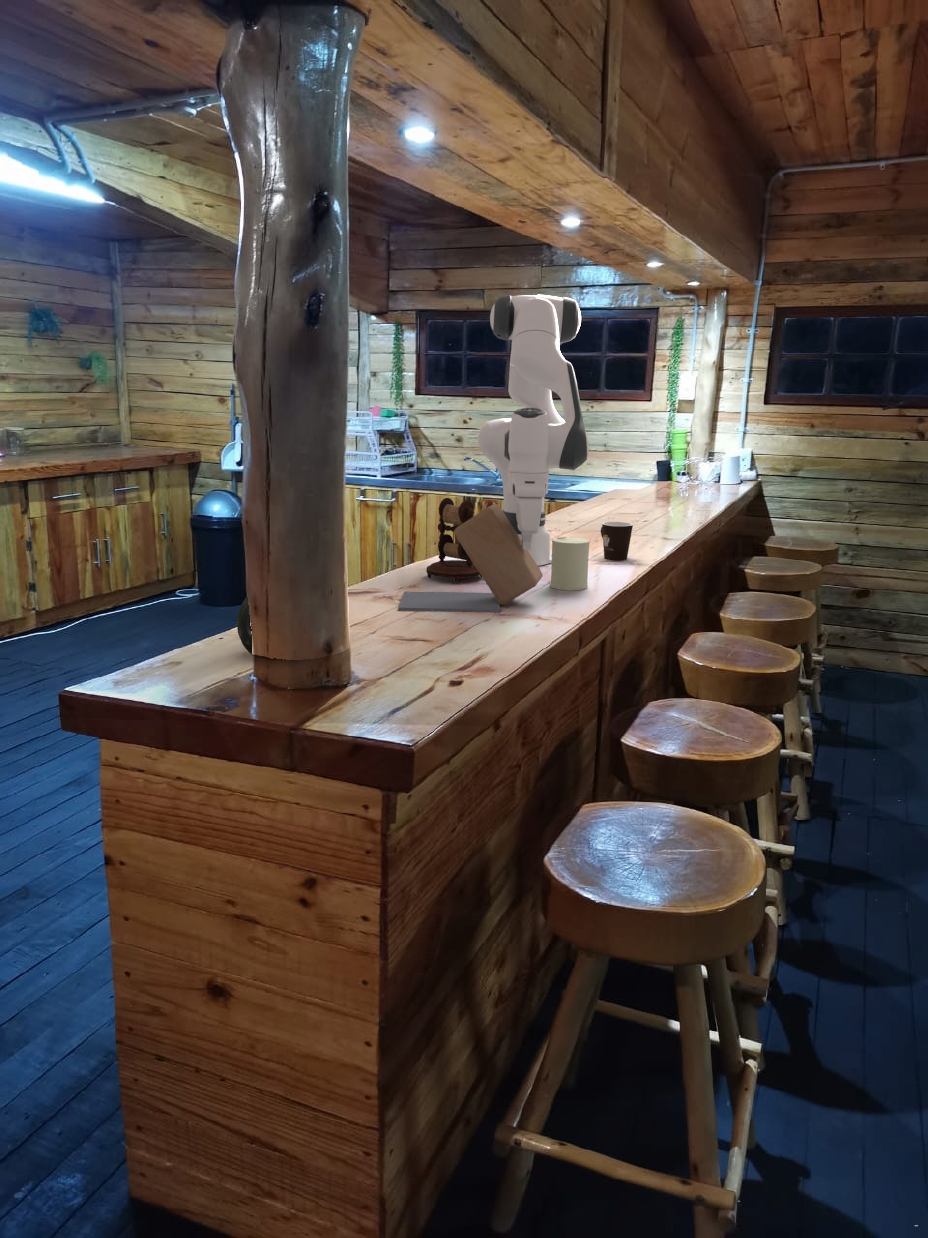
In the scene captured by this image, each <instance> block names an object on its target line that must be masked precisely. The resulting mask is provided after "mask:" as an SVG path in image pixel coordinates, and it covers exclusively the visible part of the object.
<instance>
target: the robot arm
mask: <svg viewBox="0 0 928 1238" xmlns="http://www.w3.org/2000/svg"><path fill="white" fill-rule="evenodd" d="M489 321H490V323H489V324H490V327H491V330H492V333H493V335H494V336H495V337H496V338H498V339H499V340H503V341H510V340H511V349H510V350H511V351H510V359H509V373H508V375H509V376H508V394H509V397H510V398H511V399H512V400H513V402H515V403H517V404H519V405H520V406H521V407H524V408H519V409H516V410H514V411H513V412H512V414H511V417H510V418H509V417H507V418H505V417H504V418H503V417H501V418H496V419H491V420H487V421H485V422H484V423H483V424H482V426H481V427H480V429H479V432H478V435H477V436H478V437H477V441H478V442H477V443H478V446H479V449H480V451H481V453H482V454H483V456H485V458H487V459H488V460H489V461H490V462H491V463H492V464H493V465H494V466H495V468H496V469H497V471H498V473H499V475H500V477H501V482H502V490H503V509H502V511H503V513H504V514H505V516H506V517H507V519H508V520H509V522H510V523H511V525H512V527H513V528H514V530H515V531H516V533H517V534H518V536H519V538H520V539H521V541H522V547H523V549H524V550H528V552H529V553H530V555H531V556H532V558H533V559H534V561H535V563H536V564H537V566H538V567H539V566H544V565H547V564H552V554H551V533H550V531H549V530H548V529H547V528H546V527H545V525H546V519H547V518H546V517H547V516H546V511H545V498H546V495H547V494H549V475H550V474H549V473H550V472H549V471H550V468H551V469H562V470H568V471H574V470H576V469H578V468H579V467H581V466H583V464H584V463H585V462H586V461H587V460H588V456H589V452H590V451H589V450H590V443H589V437H588V434H587V431H586V427H585V424H584V419H583V418H584V417H583V411H582V407H581V400H580V395H579V388H578V382H577V378H576V373H575V369H574V367H573V364H572V363H571V362H570V361H568V360H566V359H565V357H564V356H563V355H562V353H561V350H560V349H561V348H560V346H562V344H564V343H567V342H570V341H572V340H573V339H575V338H576V336H577V334H578V332H579V330H580V327H581V323H582V315H581V310H580V306H579V304H578V302H577V300H575V299H573V298H570V297H567V296H563V297H560V296H553V295H545V294H537V295H535V294H533V295H530V294H529V295H527V294H526V295H513V296H512V295H510V294H507V295H502V296H499V297H498V298H497V299H495V301H494V303H493V306H492V307H491V310H490V316H489ZM552 392H554V393H556V395H558V397H559V398H560V401H561V406H562V412H563V417H561V415H560V414H559V413H558V411H557V410H556V407H555V405H554V401H553V397H552V396H553V395H552Z"/></svg>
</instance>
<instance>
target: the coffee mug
mask: <svg viewBox="0 0 928 1238" xmlns="http://www.w3.org/2000/svg"><path fill="white" fill-rule="evenodd" d="M601 525H602V526H601V528H600V535H601V538H602V544H603V558H604V560H607V561H612V562H613V561H614V562H624V561H627V560H628V555H629V549H630V544H631V538H632V532H633V527H634V524H633V523H631V522H625V521H604V522H602V523H601Z"/></svg>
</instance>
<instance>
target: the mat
mask: <svg viewBox="0 0 928 1238" xmlns="http://www.w3.org/2000/svg"><path fill="white" fill-rule="evenodd" d="M500 605H501V604H500V603H499V602H498V601H497V599H496V598H495V596H494V595H493V593H492V592H476V591H475V592H472V591H471V592H470V591H468V592H465V591H461V592H460V591H459V592H457V591H410V590H407V591H405V590H404V591H403V594H402V596H401V599H400V602H399V605H398V608H397V611H399V612H400V611H402V612H405V611H406V612H408V611H409V612H411V611H412V612H458V613H459V612H460V613H461V612H462V613H463V612H465V613H470V612H472V613H501V606H500Z"/></svg>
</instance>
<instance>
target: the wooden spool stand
mask: <svg viewBox="0 0 928 1238" xmlns="http://www.w3.org/2000/svg"><path fill="white" fill-rule="evenodd" d="M474 507H475V506H474V504H473V503H472V502H471V500H463V501H462V502H461V503H460V505H455V503H454V501H453V500H452V499H451V498H450V497H445V498H443V499H442V500H441V501H440V502H439V506H438V515H439V518H438V519H439V523H438V525H437V530H438V532H439V536H438V539H439V540H438V544H437V548H438V549H437V550H438V552H439V553H438V559H439V560H438V561H435V562H432V563H431V564H430V565H427V566H426V571H425V572H426V575H427V577H428V579H430V578H431V577H432V576H433V577H437V578H442V579H454V580H453V581H454V583H455V584H456V585H457V584H458V583H459V580H460V579H469V578H476V577H479V578H481V579H483V578H482V576H481V574H480V573H479V571H478V570H477V568H476V567H475V565H474V564H473V562H472V561H471V559H470V557H469V556H468V554H467V553H466V551H465V550H464V548H463V547H462V545H461V543H460V542H459V540H458V539H457V537H456V536H455V534H454V530H455V529H456V528H457V527H459V526H460V525H462V524H463V523H465V522H466V521H468V520H469V519H471V518H472V517H474V516H475V508H474ZM447 524H449V525H447ZM450 524H451V525H452V526H451V525H450ZM445 532H452V533H453V534H454V538H453V537H452V536H451V535H450V534H447V533H446V534H445ZM446 557H447V558H453V559H449V560H448V559H446Z"/></svg>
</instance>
